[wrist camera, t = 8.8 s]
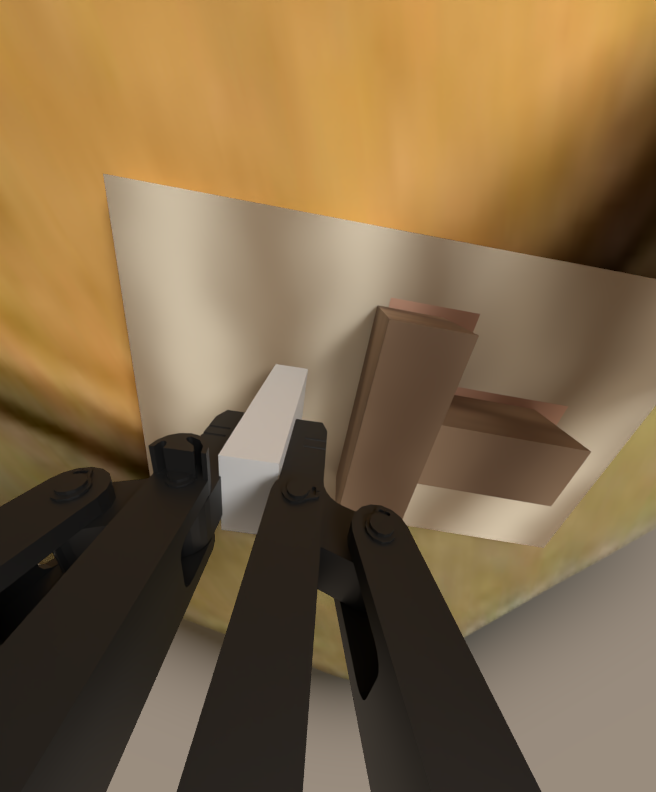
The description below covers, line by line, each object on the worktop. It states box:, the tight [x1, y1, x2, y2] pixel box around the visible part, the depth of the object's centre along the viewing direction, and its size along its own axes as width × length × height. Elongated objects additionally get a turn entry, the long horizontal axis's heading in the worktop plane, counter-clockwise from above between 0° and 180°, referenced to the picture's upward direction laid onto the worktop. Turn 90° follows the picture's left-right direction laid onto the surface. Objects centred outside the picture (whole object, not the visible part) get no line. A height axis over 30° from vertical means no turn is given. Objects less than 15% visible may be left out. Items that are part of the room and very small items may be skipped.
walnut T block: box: [335, 305, 591, 519], centre depth 13 cm, size 9×10×4 cm
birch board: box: [103, 174, 656, 548], centre depth 15 cm, size 26×16×1 cm, turn 80°
